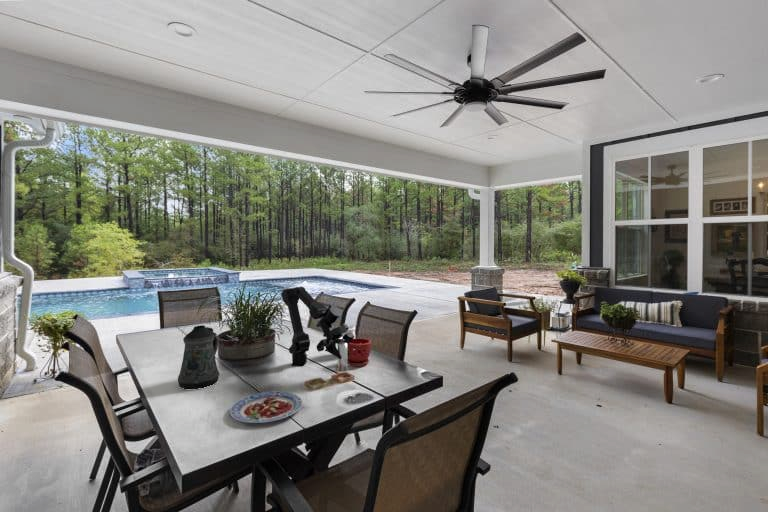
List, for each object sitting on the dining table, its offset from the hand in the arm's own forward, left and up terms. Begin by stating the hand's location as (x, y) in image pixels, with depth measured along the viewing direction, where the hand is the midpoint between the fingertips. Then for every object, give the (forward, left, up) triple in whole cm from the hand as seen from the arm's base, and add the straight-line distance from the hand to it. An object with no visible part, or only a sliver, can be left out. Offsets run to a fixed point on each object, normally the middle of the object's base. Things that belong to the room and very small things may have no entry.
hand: (344, 357), depth 169 cm
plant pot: (+2, +24, -11) cm, 27 cm away
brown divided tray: (-6, -3, -11) cm, 13 cm away
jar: (-7, +39, -11) cm, 41 cm away
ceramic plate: (-24, -31, -11) cm, 40 cm away
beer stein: (-65, -6, -11) cm, 66 cm away
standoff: (-1, +1, -6) cm, 6 cm away
